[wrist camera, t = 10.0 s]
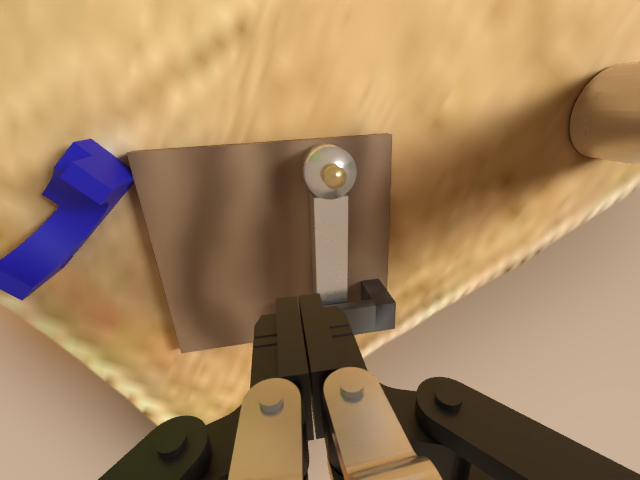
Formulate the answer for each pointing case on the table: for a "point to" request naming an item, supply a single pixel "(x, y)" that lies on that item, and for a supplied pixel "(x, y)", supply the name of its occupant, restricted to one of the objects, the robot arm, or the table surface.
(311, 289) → the board
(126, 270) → the table surface
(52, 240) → the cable clip
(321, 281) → the link
